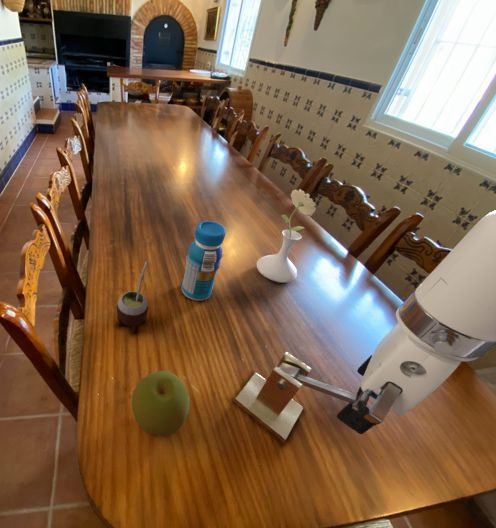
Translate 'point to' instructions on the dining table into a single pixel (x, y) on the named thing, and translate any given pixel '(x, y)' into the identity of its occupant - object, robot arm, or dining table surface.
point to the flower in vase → (286, 244)
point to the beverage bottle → (203, 260)
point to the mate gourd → (132, 307)
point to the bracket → (274, 398)
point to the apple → (160, 403)
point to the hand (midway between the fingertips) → (358, 399)
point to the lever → (321, 385)
